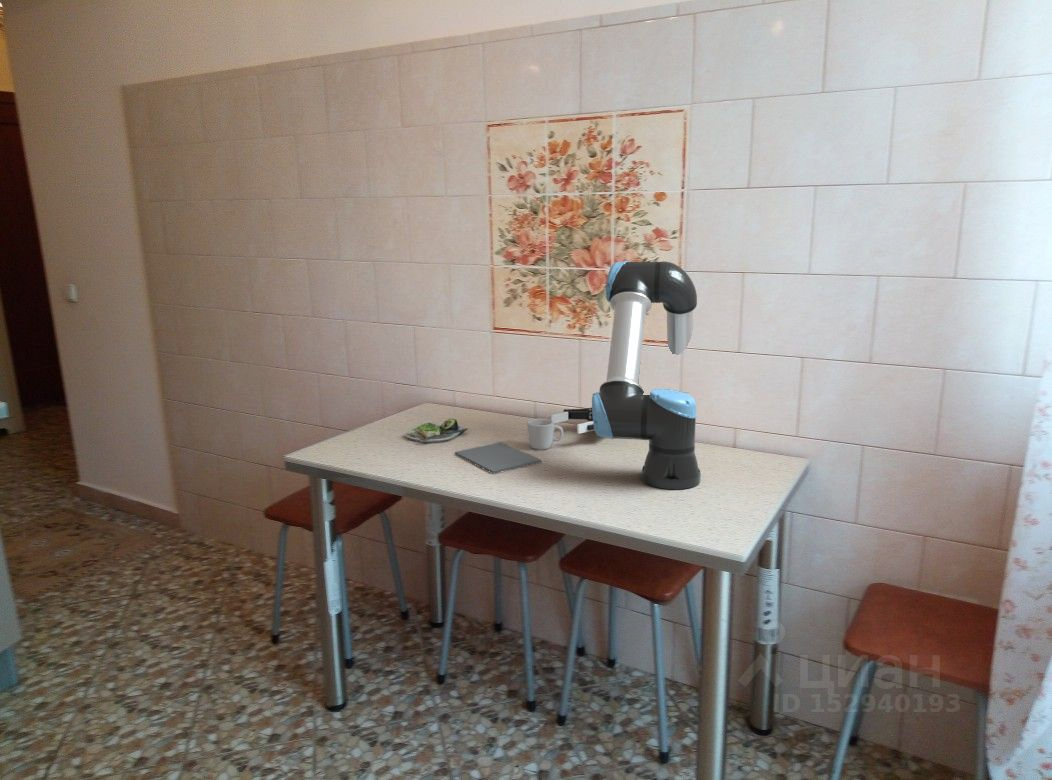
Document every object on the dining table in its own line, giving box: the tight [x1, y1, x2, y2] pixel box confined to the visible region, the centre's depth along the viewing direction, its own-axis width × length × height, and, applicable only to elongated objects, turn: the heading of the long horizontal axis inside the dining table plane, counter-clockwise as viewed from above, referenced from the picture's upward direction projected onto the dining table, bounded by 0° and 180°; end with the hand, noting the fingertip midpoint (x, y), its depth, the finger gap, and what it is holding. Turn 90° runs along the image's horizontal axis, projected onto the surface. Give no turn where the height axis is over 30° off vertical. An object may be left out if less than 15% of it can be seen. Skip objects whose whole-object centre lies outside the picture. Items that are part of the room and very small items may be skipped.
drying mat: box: [454, 441, 542, 474], centre depth 210 cm, size 21×16×1 cm
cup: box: [526, 418, 564, 451], centre depth 219 cm, size 11×8×8 cm
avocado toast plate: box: [404, 418, 469, 444], centre depth 232 cm, size 19×18×5 cm
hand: (563, 424), depth 222 cm, fingers open, 13 cm apart
